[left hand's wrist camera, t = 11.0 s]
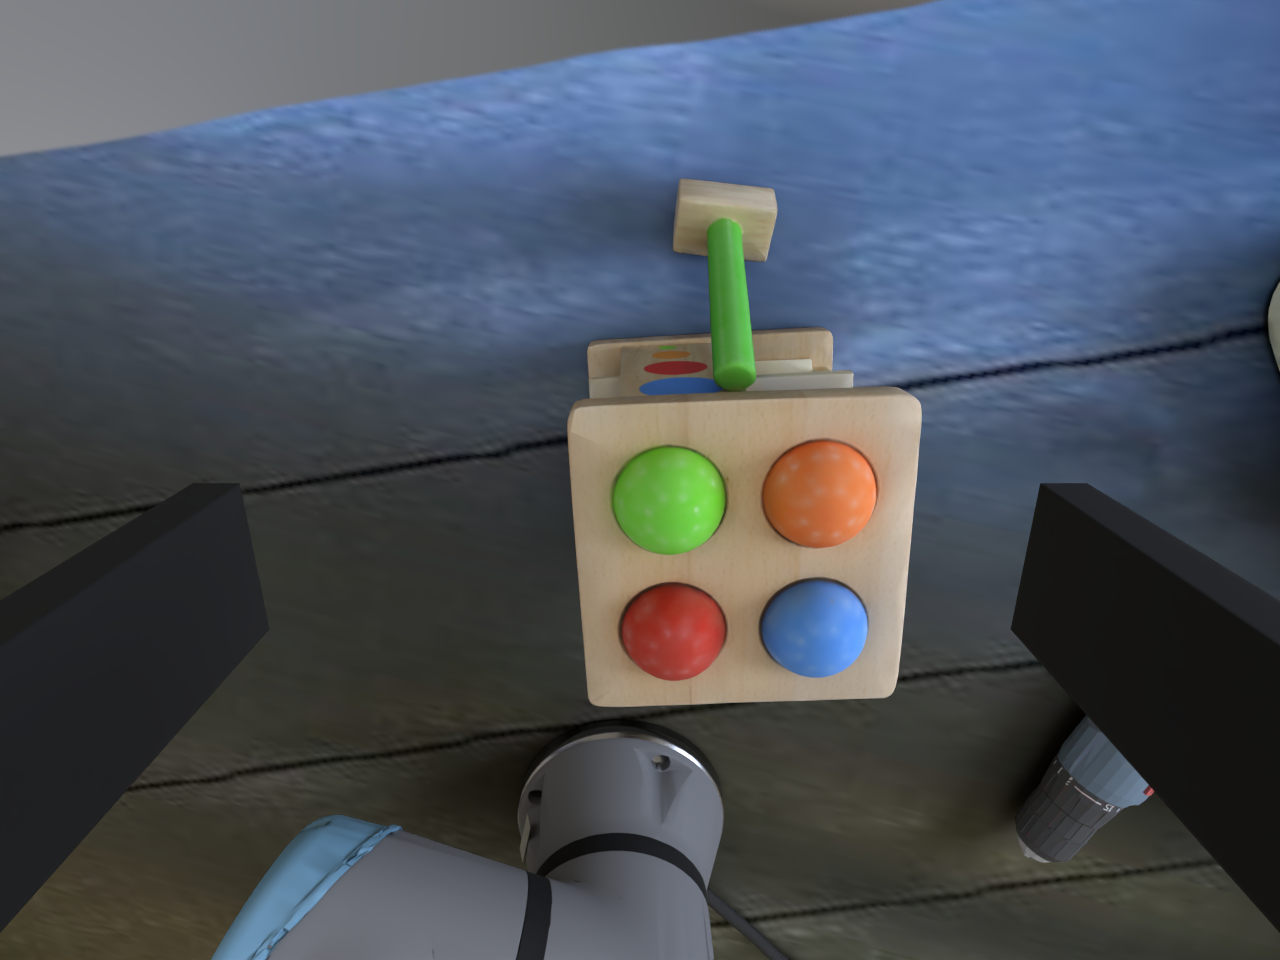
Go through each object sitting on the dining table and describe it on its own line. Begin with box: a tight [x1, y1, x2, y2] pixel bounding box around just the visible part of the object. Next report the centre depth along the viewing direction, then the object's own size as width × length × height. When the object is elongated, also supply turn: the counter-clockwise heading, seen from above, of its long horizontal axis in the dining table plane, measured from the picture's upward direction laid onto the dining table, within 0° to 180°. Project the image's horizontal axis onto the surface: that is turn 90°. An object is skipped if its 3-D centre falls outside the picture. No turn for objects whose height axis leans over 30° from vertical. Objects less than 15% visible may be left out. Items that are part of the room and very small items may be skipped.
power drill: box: [1015, 715, 1154, 862], centre depth 52 cm, size 5×19×20 cm
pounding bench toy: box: [567, 179, 922, 707], centre depth 36 cm, size 23×14×18 cm, turn 3°
